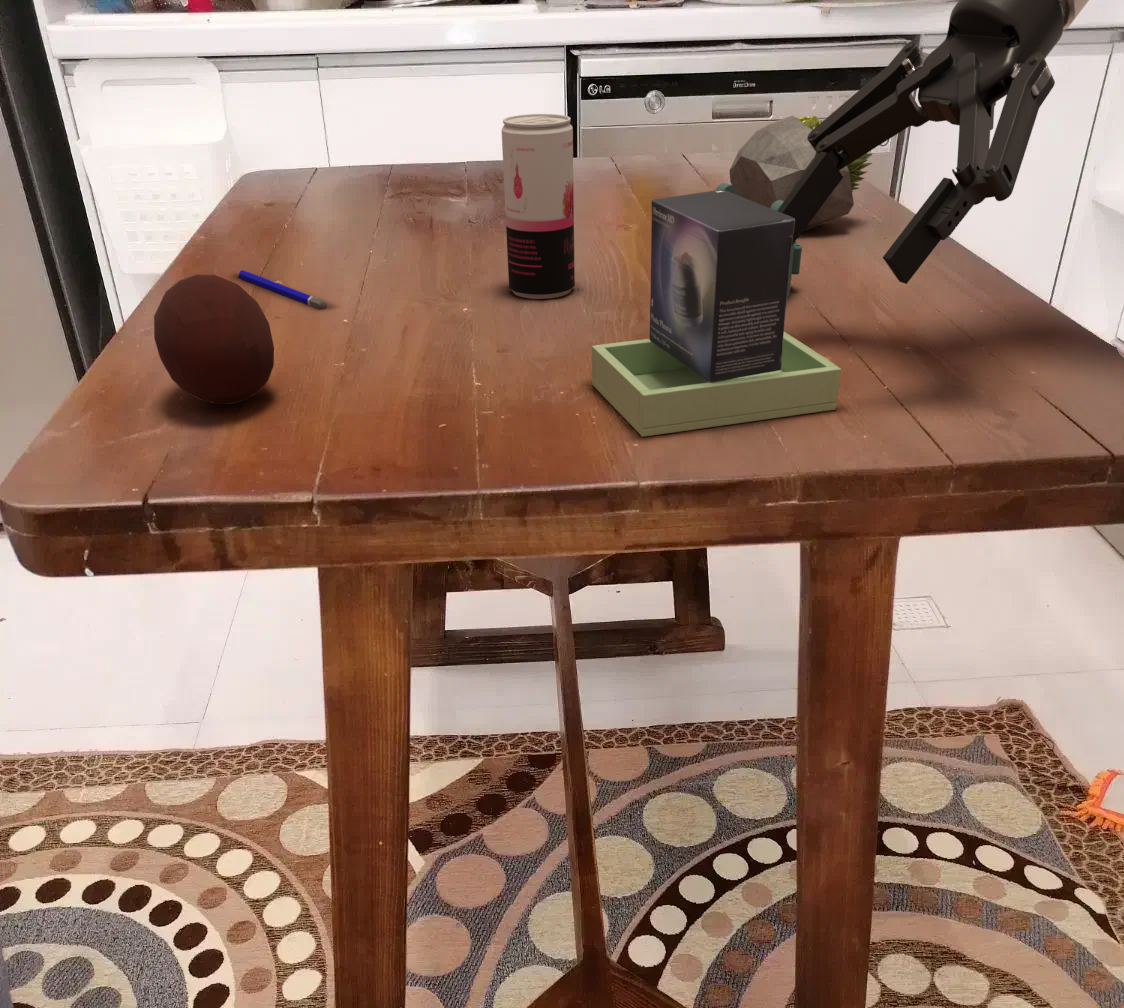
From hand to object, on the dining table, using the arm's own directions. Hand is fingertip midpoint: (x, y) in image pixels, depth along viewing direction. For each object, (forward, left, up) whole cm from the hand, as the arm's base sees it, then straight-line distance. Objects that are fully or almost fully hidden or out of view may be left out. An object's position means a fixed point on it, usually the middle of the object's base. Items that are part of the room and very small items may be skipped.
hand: (833, 252), depth 83 cm
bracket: (+24, -5, -9) cm, 26 cm away
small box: (-1, +10, -6) cm, 12 cm away
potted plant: (+47, -22, -10) cm, 52 cm away
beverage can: (+32, +14, -9) cm, 36 cm away
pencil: (+41, +39, -10) cm, 58 cm away
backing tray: (-1, +10, -9) cm, 14 cm away
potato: (+12, +46, -9) cm, 48 cm away
